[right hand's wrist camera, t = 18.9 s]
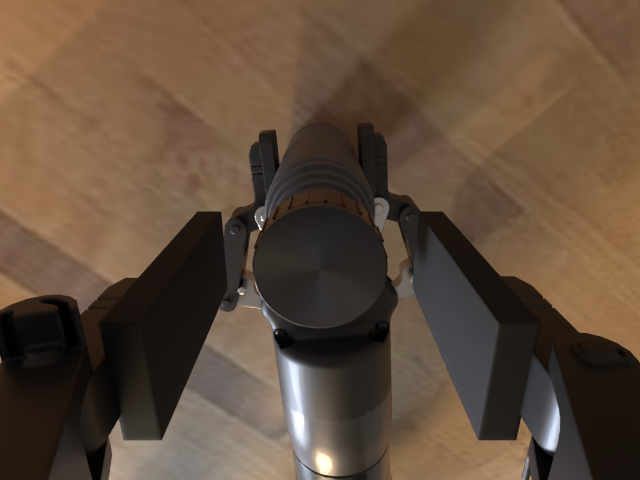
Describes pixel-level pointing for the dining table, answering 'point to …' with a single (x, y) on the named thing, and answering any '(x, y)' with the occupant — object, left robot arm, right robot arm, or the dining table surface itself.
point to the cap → (320, 260)
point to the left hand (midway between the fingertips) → (315, 129)
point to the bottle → (319, 168)
